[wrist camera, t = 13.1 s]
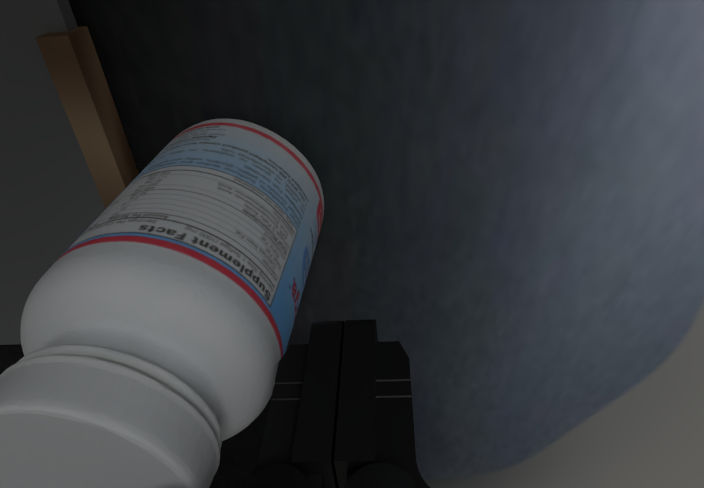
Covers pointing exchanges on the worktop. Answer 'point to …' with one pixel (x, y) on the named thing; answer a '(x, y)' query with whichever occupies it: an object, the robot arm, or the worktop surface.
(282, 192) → the pill bottle
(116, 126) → the bar
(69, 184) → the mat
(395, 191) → the worktop surface
